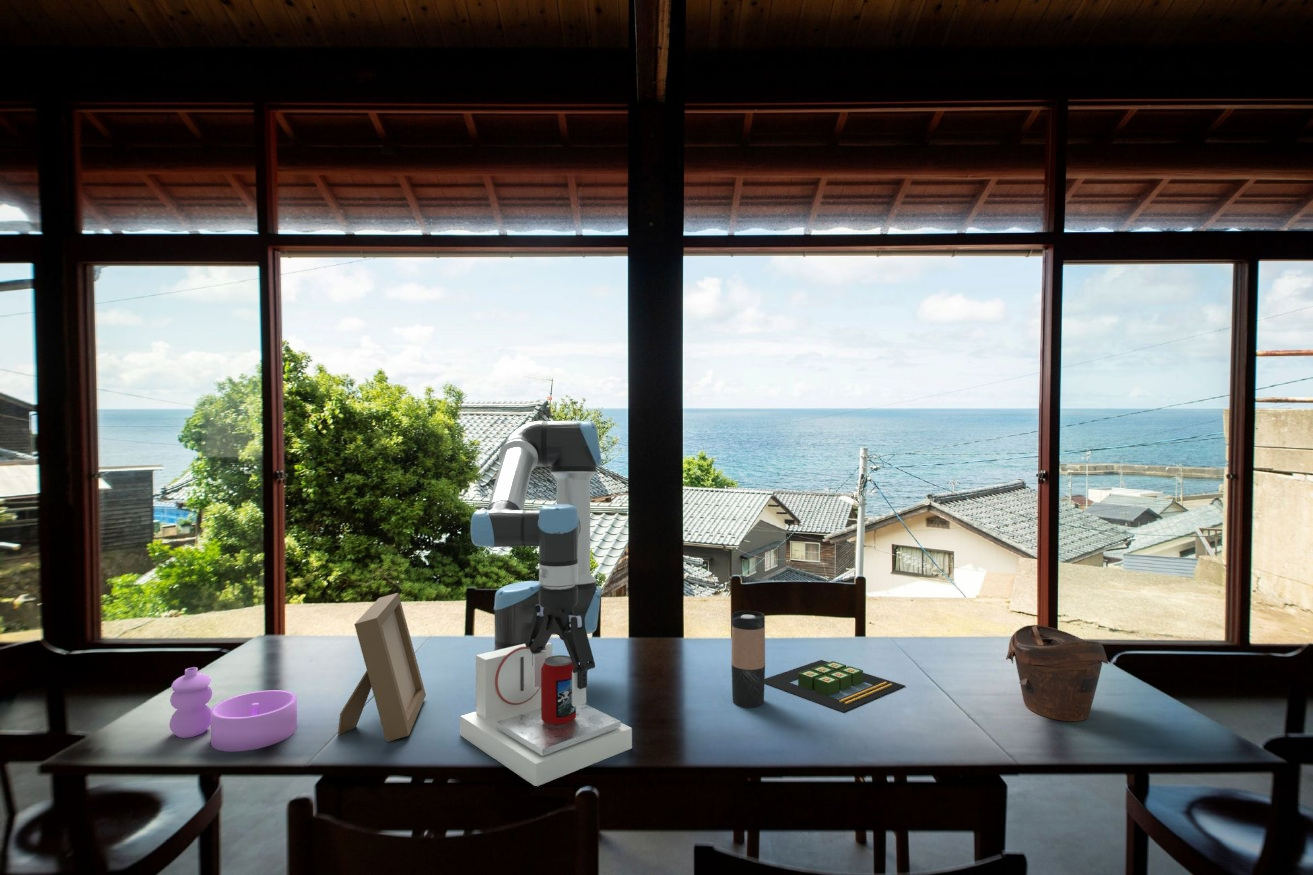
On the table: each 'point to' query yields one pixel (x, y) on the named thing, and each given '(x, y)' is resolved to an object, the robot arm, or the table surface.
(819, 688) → the sushi
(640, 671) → the table surface
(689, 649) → the table surface
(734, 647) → the travel mug
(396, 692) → the photo frame
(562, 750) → the scale
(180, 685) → the container set
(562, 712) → the beverage can
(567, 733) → the weighing pan
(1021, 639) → the case
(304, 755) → the table surface
